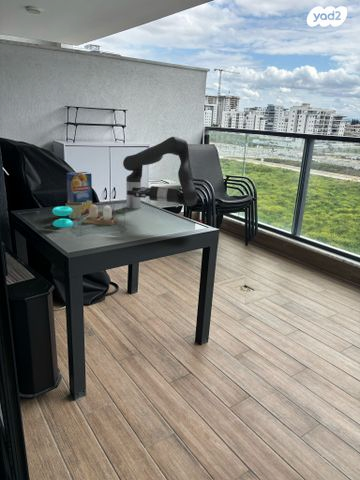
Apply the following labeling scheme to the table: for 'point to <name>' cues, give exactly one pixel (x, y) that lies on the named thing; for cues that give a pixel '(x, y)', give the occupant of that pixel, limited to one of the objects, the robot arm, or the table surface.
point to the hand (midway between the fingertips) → (129, 190)
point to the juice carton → (80, 189)
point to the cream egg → (107, 213)
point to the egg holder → (100, 220)
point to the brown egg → (93, 212)
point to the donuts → (62, 212)
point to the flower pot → (75, 209)
